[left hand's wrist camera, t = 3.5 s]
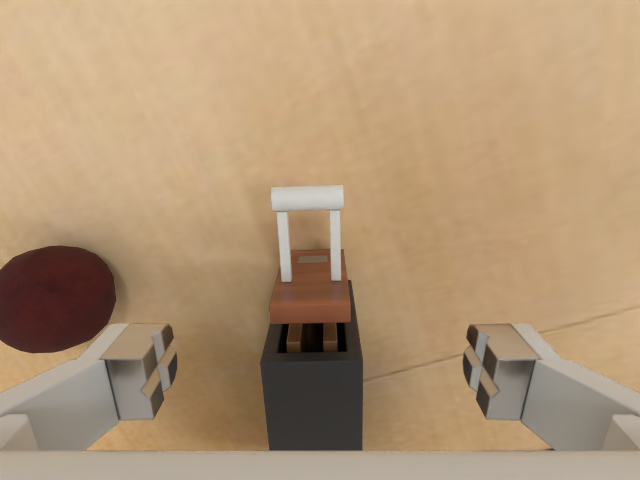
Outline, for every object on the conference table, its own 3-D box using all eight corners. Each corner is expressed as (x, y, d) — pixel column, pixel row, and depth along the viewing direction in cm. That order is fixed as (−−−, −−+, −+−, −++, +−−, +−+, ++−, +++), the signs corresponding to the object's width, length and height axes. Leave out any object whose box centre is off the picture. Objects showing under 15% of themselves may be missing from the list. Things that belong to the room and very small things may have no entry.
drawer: (278, 171, 26) (259, 200, 18) (342, 169, 26) (349, 197, 18) (296, 424, 34) (288, 517, 26) (345, 423, 34) (351, 516, 26)
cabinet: (279, 281, 30) (260, 362, 21) (351, 280, 30) (362, 360, 21) (293, 450, 36) (282, 570, 27) (352, 449, 36) (361, 570, 27)
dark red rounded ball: (19, 280, 30) (-67, 332, 23) (68, 210, 28) (-12, 245, 21) (101, 334, 31) (42, 397, 25) (153, 272, 29) (103, 322, 23)
